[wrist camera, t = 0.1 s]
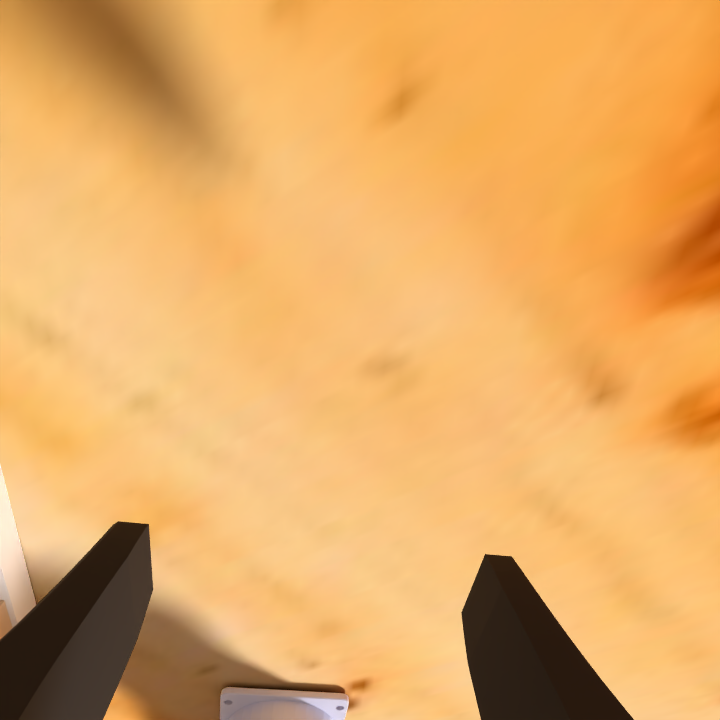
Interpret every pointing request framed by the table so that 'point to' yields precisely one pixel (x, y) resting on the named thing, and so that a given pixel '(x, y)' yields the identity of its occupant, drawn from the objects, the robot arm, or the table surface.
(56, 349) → the table surface
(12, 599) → the deck
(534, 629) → the robot arm
